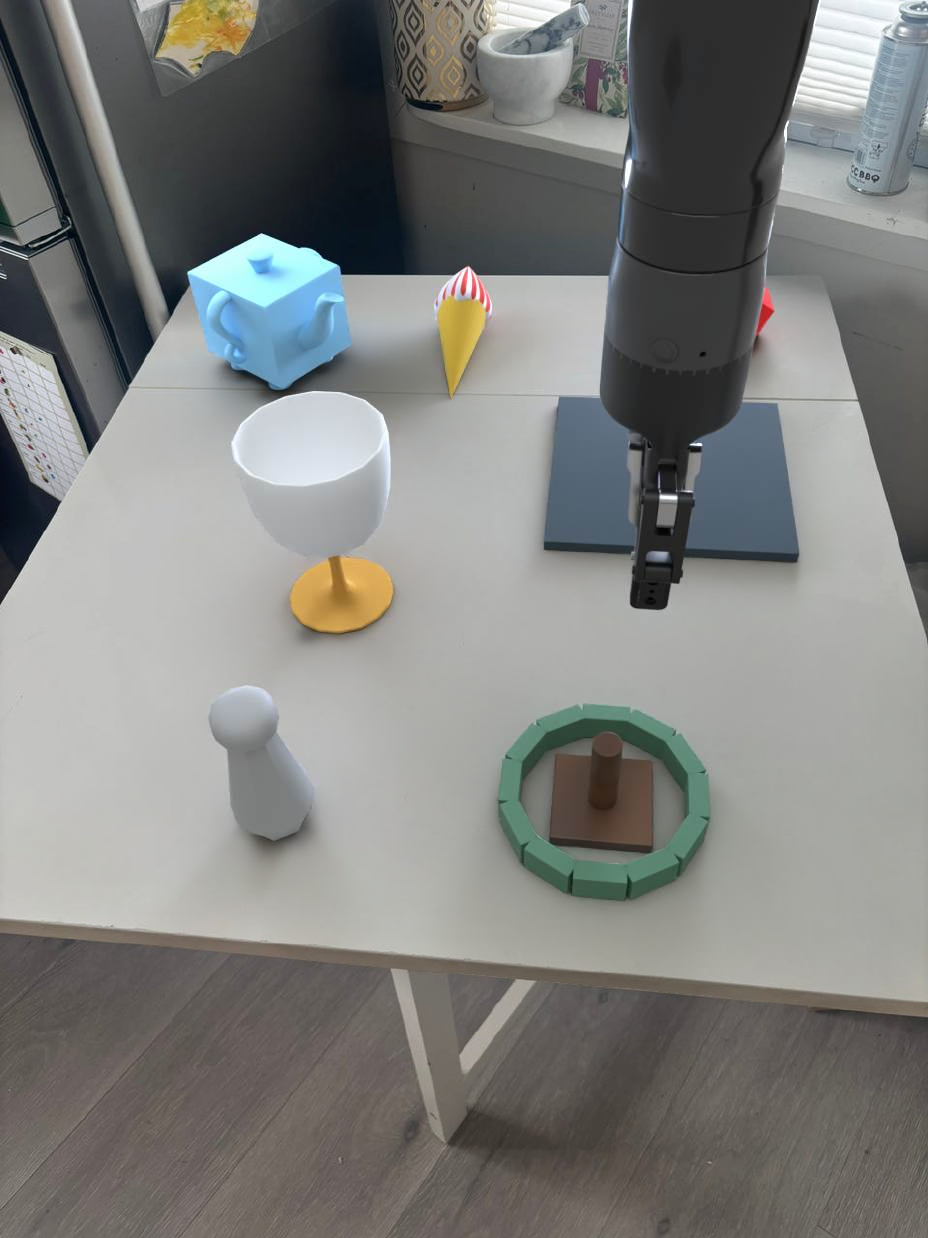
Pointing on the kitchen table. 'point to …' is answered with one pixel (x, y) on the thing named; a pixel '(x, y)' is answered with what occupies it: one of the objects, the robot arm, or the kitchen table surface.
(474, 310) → the ice cream cone
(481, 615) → the kitchen table surface
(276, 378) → the teapot
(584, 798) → the ring toss
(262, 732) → the white game pawn
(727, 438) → the mat
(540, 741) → the ring
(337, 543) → the cup
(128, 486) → the kitchen table surface
